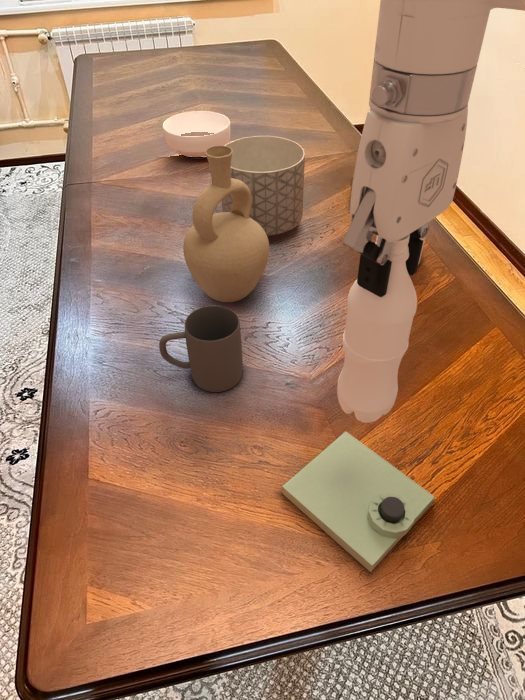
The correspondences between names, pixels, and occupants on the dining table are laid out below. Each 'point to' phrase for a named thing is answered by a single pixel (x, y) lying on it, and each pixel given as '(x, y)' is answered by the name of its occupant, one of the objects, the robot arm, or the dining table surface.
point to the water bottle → (377, 340)
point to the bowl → (196, 123)
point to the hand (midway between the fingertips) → (386, 277)
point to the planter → (270, 180)
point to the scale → (356, 498)
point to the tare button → (392, 509)
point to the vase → (225, 236)
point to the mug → (210, 348)
